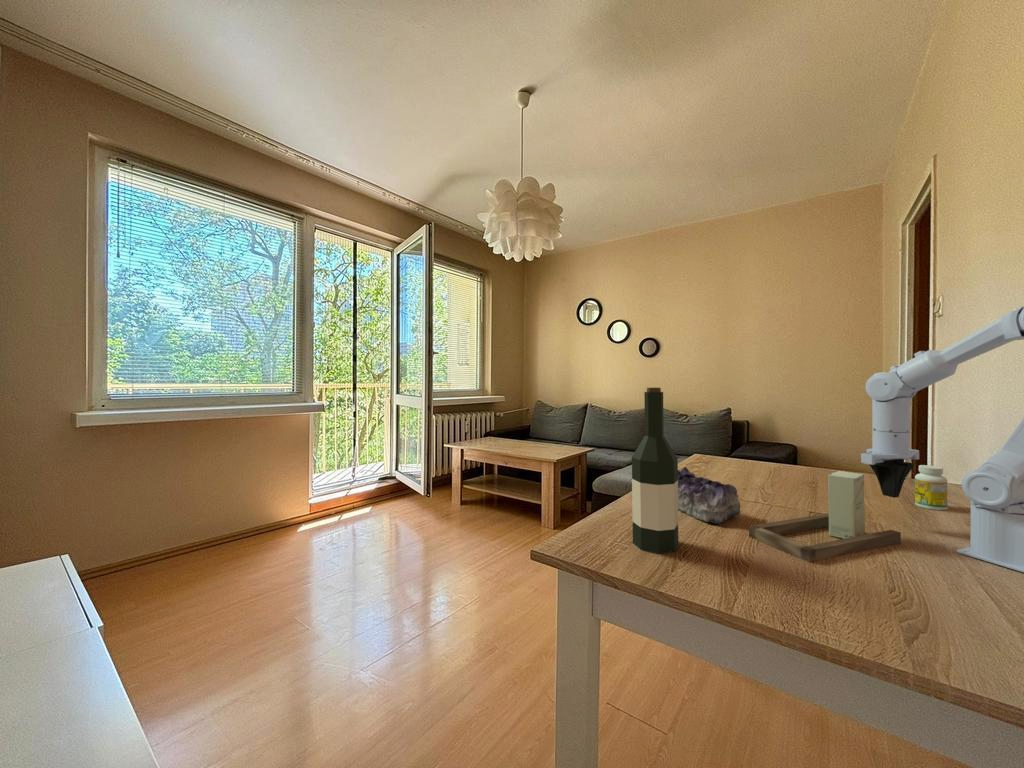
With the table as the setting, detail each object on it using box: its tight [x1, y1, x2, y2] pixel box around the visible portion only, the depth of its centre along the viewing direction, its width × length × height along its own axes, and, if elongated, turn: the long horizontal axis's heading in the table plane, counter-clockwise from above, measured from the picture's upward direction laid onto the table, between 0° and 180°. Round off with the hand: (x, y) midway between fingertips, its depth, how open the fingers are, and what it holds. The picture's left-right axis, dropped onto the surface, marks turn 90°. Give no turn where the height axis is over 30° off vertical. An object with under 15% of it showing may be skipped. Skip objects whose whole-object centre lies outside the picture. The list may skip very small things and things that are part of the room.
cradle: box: [748, 512, 902, 563], centre depth 79 cm, size 12×24×2 cm, turn 108°
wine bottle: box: [631, 387, 679, 554], centre depth 77 cm, size 8×8×30 cm
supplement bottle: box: [914, 464, 949, 511], centre depth 96 cm, size 5×5×10 cm
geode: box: [678, 466, 741, 525], centre depth 97 cm, size 20×12×10 cm, turn 19°
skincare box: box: [827, 470, 866, 539], centre depth 81 cm, size 6×4×12 cm
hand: (890, 496), depth 84 cm, fingers closed
